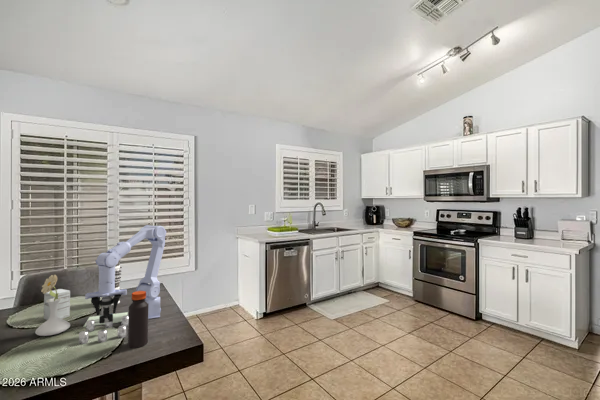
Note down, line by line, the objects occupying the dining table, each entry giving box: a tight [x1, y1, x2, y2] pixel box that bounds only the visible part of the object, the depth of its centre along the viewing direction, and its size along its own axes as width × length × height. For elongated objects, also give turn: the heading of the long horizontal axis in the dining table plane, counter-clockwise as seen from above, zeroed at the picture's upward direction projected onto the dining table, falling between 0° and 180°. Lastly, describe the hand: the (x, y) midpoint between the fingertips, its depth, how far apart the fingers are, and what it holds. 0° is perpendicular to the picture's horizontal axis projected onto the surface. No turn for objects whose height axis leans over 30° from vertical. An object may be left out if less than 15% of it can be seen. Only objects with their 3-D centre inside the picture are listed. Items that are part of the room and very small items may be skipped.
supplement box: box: [43, 288, 71, 321], centre depth 140 cm, size 7×7×13 cm
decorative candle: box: [101, 258, 122, 307], centre depth 161 cm, size 9×9×25 cm
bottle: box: [127, 291, 149, 349], centre depth 115 cm, size 7×7×20 cm
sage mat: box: [82, 311, 129, 328], centre depth 138 cm, size 16×12×1 cm
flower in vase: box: [35, 274, 71, 337], centre depth 124 cm, size 13×11×25 cm
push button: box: [95, 297, 113, 324], centre depth 124 cm, size 7×5×10 cm
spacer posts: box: [78, 314, 129, 345], centre depth 124 cm, size 16×18×4 cm
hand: (106, 313), depth 124 cm, fingers closed on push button, 5 cm apart
